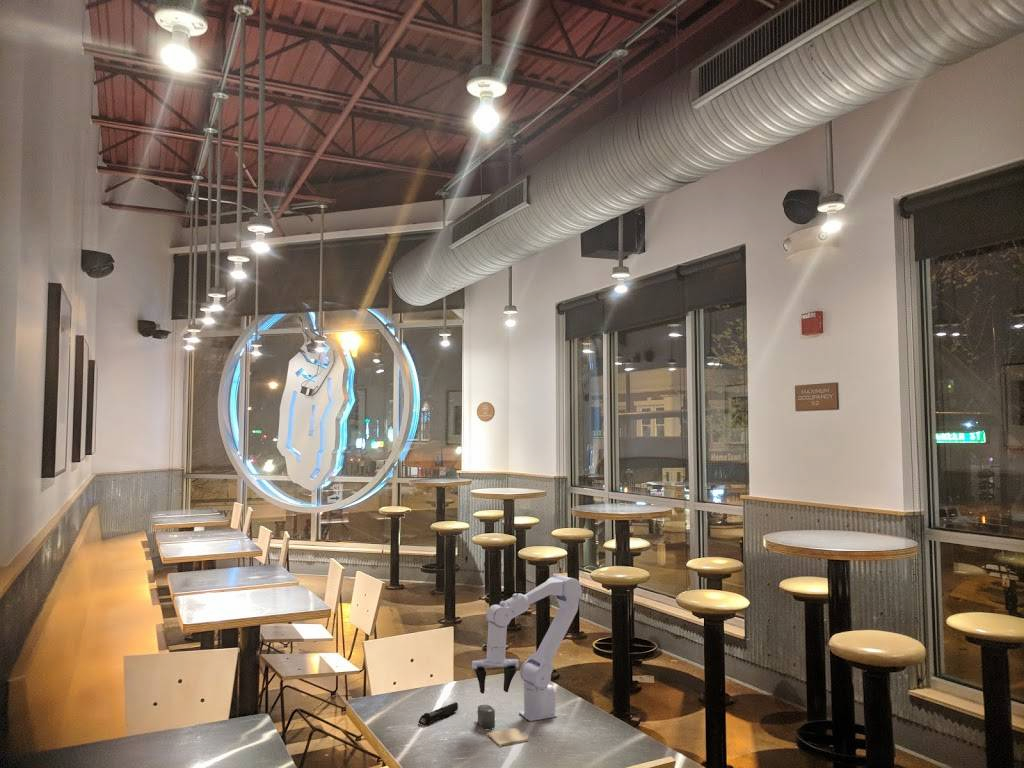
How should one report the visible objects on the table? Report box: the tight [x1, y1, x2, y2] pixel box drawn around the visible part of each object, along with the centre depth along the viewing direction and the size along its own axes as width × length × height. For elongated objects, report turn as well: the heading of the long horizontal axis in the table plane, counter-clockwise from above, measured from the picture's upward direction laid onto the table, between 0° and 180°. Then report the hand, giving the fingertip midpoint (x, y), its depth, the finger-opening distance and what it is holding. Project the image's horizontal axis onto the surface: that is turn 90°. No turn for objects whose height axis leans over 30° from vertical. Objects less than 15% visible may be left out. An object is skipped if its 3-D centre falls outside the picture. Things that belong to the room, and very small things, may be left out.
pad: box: [487, 727, 529, 747], centre depth 216 cm, size 9×9×1 cm
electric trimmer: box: [418, 702, 459, 726], centre depth 232 cm, size 4×16×3 cm, turn 141°
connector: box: [476, 704, 496, 730], centre depth 227 cm, size 9×4×5 cm, turn 24°
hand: (493, 691), depth 227 cm, fingers open, 7 cm apart
